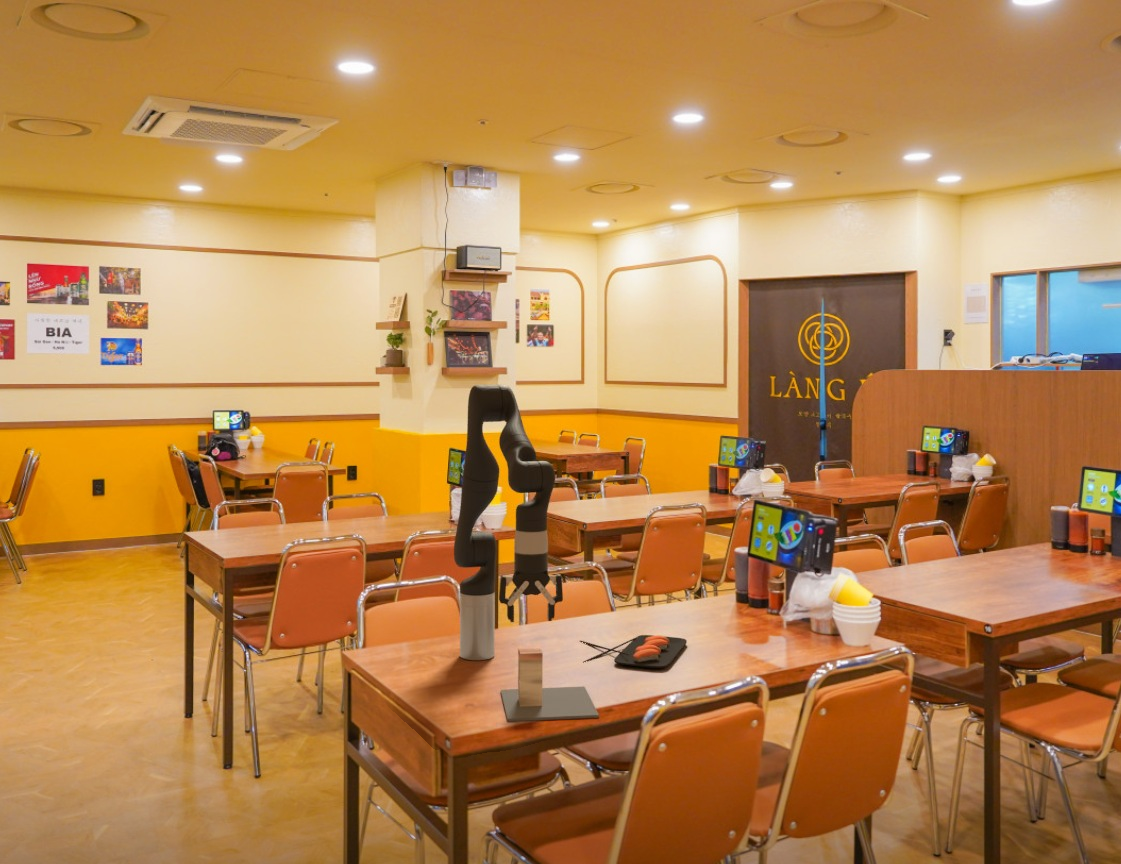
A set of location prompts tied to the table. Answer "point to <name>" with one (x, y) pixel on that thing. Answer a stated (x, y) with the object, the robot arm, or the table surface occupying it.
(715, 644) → the table surface
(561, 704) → the slate mat
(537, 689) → the birch block
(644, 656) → the sushi plate
